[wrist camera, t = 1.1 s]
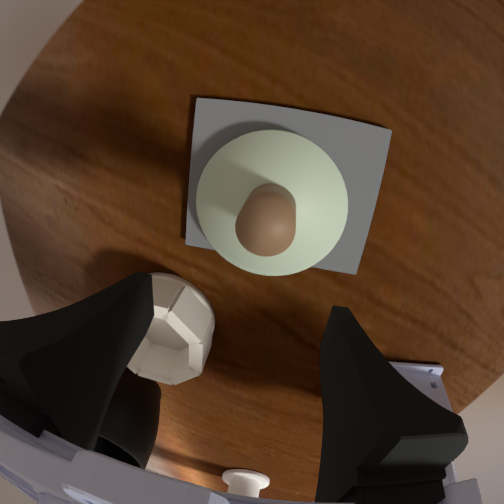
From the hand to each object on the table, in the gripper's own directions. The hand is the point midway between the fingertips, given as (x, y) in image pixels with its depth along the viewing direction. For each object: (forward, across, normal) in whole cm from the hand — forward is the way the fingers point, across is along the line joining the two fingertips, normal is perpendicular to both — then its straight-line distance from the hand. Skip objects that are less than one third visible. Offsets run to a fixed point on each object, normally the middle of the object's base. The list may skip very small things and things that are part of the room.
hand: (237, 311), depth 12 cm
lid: (+10, 0, -2) cm, 10 cm away
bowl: (+10, +7, +9) cm, 15 cm away
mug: (+10, +12, +22) cm, 27 cm away
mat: (+10, -1, -3) cm, 10 cm away
